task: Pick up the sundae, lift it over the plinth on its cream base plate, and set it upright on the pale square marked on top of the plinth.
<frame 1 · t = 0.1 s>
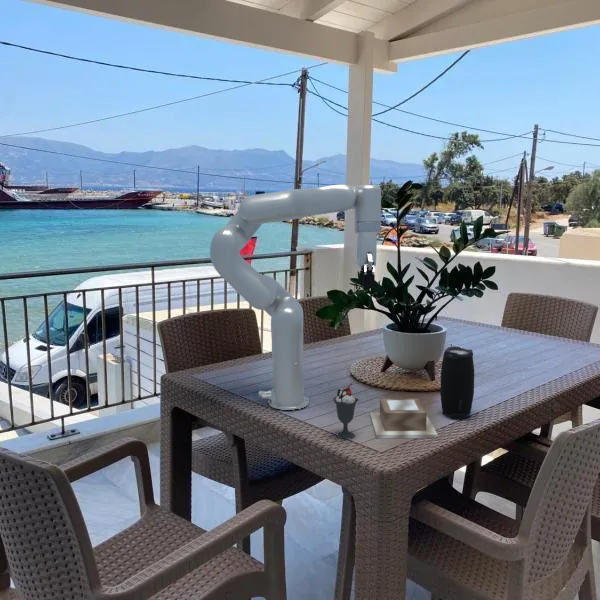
hand: (367, 285, 169), 37 cm above the table, tool pointing down, fingers open, 9 cm apart
pedestal: (402, 426, 158), on the table
sundae: (345, 436, 152), on the table
portable speaker: (456, 415, 166), on the table
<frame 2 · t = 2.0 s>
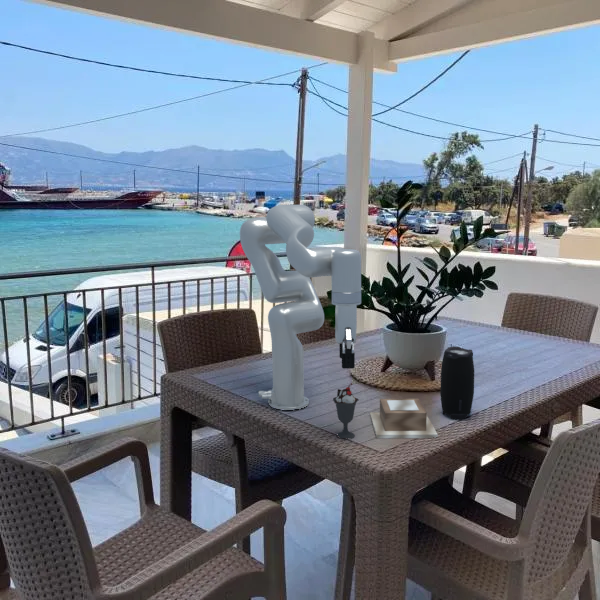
hand: (346, 362, 148), 20 cm above the table, tool pointing down, fingers open, 9 cm apart
nothing on the table moved.
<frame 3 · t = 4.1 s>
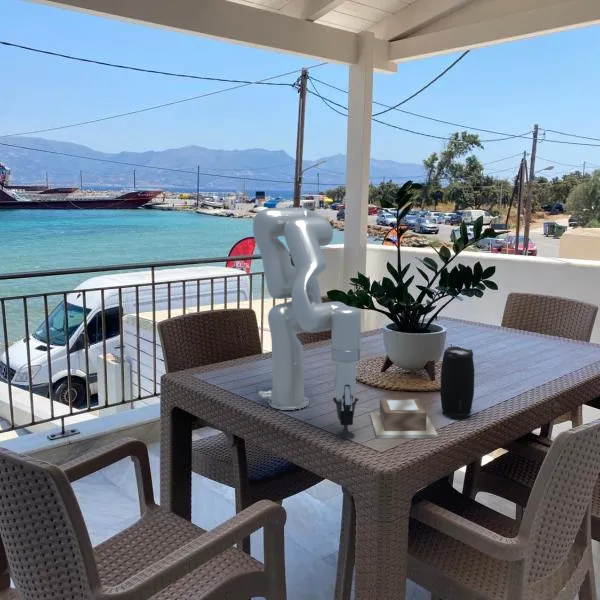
hand: (345, 419, 151), 4 cm above the table, tool pointing down, fingers closed on sundae, 4 cm apart
sundae: (345, 436, 152), on the table, touching gripper
everything else where it was.
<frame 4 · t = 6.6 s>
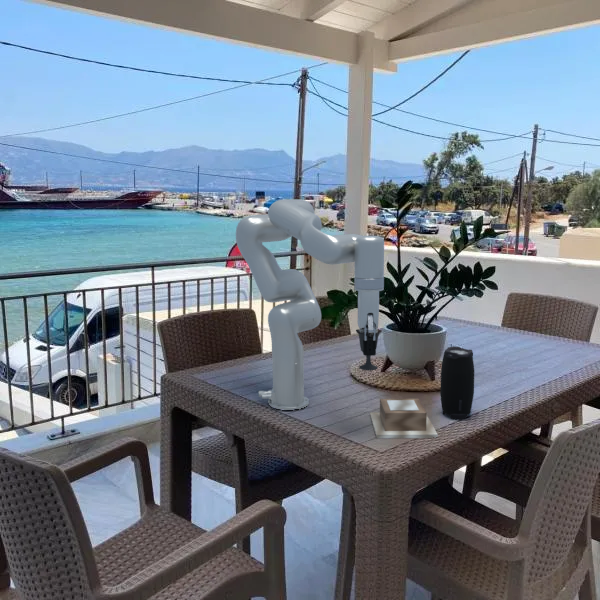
hand: (368, 351, 150), 22 cm above the table, tool pointing down, fingers closed on sundae, 4 cm apart
sundae: (368, 368, 151), point 18 cm above the table, touching gripper
everything else where it was.
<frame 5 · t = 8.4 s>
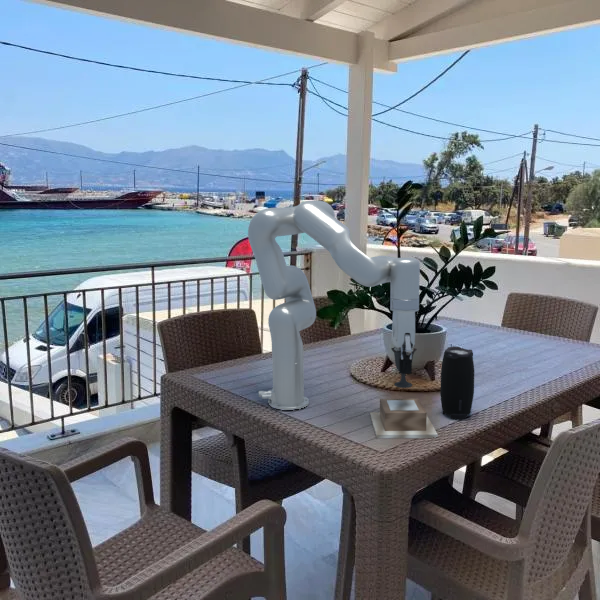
hand: (403, 369, 155), 16 cm above the table, tool pointing down, fingers closed on sundae, 4 cm apart
sundae: (403, 385, 156), point 12 cm above the table, touching gripper
everything else where it was.
when the fingers open (12 cm above the table, at t = 9.6 s): sundae drops 1 cm, resting on pedestal.
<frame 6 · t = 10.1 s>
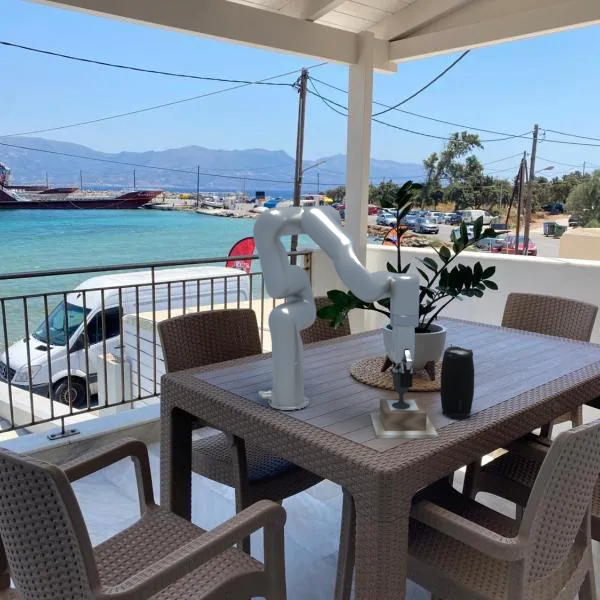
hand: (403, 381, 156), 13 cm above the table, tool pointing down, fingers open, 9 cm apart
sundae: (401, 406, 156), point 6 cm above the table, touching pedestal
everything else where it was.
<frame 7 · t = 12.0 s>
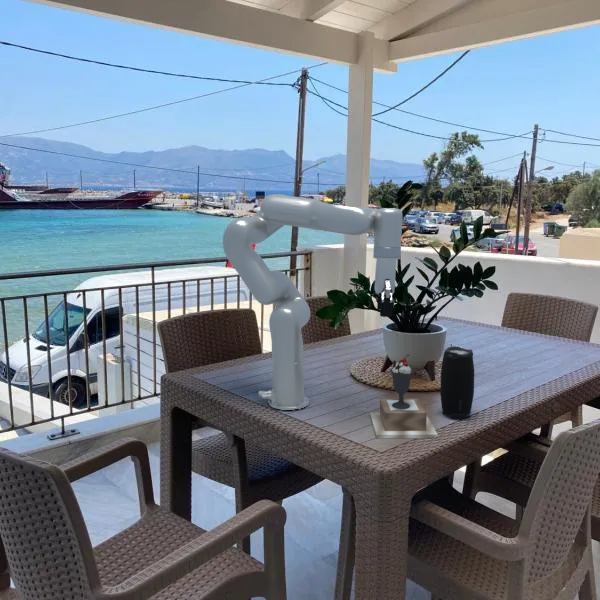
hand: (384, 312, 163), 30 cm above the table, tool pointing down, fingers open, 9 cm apart
nothing on the table moved.
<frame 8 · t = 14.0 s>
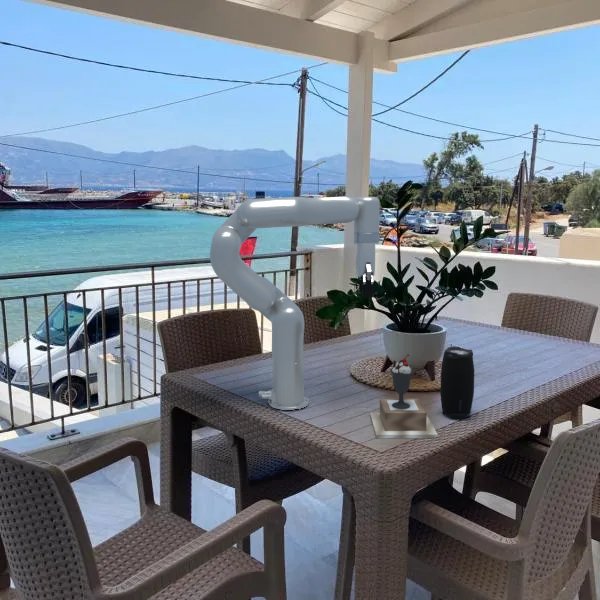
hand: (366, 294, 174), 33 cm above the table, tool pointing down, fingers open, 9 cm apart
nothing on the table moved.
at the end: sundae 0.9 cm off-centre on the pedestal, point 6.0 cm above the pedestal's base; sundae tilted 0°; the gripper is holding nothing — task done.
